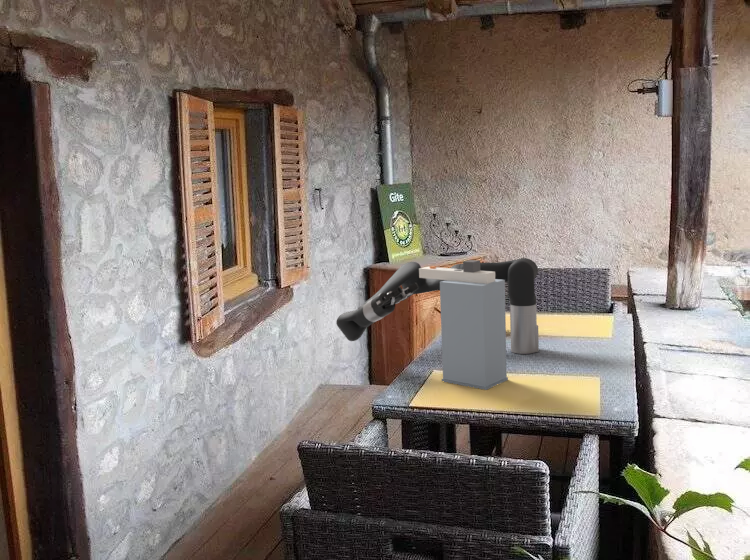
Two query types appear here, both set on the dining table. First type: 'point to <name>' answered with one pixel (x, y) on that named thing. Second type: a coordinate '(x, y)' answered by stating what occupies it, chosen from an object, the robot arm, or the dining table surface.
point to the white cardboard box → (459, 273)
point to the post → (473, 333)
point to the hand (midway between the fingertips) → (409, 287)
